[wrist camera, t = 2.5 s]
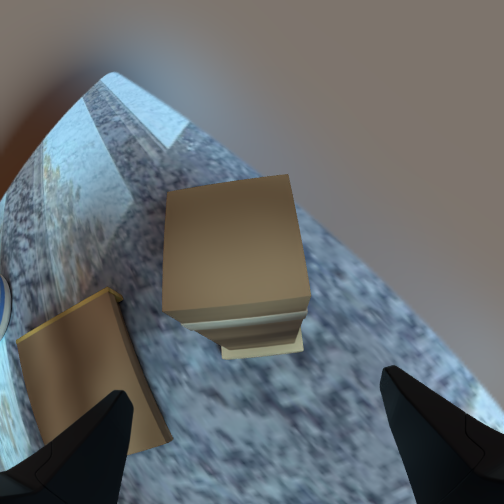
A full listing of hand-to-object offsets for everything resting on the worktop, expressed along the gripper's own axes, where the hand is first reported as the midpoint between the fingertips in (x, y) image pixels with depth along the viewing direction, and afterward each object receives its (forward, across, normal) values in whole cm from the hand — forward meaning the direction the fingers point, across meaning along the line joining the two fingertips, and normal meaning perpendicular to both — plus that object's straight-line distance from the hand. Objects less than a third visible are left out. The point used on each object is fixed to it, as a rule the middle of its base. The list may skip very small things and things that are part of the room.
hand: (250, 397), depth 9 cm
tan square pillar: (+11, 0, +4) cm, 12 cm away
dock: (+8, +15, +8) cm, 18 cm away
